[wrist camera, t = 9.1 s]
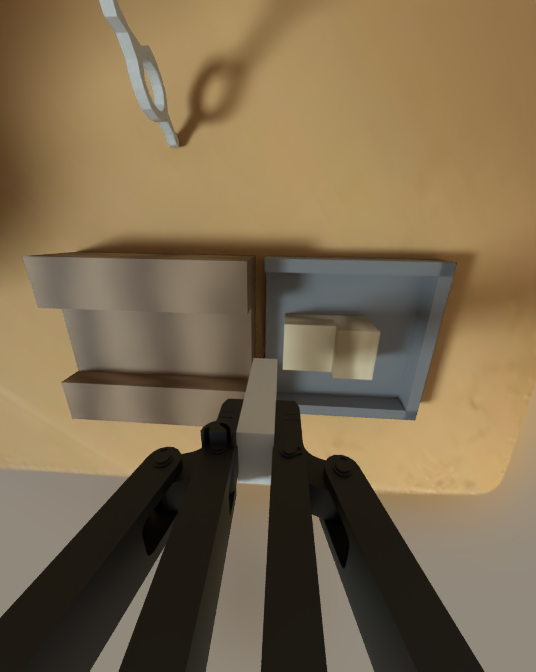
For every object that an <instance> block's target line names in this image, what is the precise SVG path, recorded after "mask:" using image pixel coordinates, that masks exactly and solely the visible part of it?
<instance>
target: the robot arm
mask: <svg viewBox="0 0 536 672" xmlns="http://www.w3.org/2000/svg"><path fill="white" fill-rule="evenodd" d="M277 360H278V359H265V358H253V363H252V367H251V371H250V376H249V380H248V384H247V388H246V393H245V397H244V399H227V400H226V401H225V402H224V403H223V404H222V406H221V409H220V412H219V415H218V418H217V420H216V421H213V422H210V423H208V424H207V425H205V426H204V427H203V428H202V430H201V440H202V448H201V449H199V450H197V451H194V452H190V453H185V454H181V453H180V451H179V450H178V449H176V448H174V447H164V448H160V449H158V450H156V451H154V452H153V453H151V454H150V455H149V456H148V457H147V458H146V459H145V460H144V461H143V463H142V464H141V465H140V466H139V467H138V468H137V469H136V470H135V471H134V472H133V473H132V475H131V476H130V477H129V478H128V479H127V480H126V481H125V482H124V483H123V484H122V485H121V487H120V488H119V489H118V490H117V491H116V492H115V493H114V494H113V495H112V496H111V497H110V499H109V500H108V501H107V502H106V503H105V504H104V505H103V506H102V507H101V509H100V510H99V511H98V512H97V513H96V514H95V515H94V516H93V517H92V518H91V520H89V522H88V523H87V524H86V525H85V526H84V527H83V528H82V529H81V530H80V531H79V532H78V534H77V535H76V536H75V537H74V538H73V539H72V540H71V541H70V542H69V543H68V545H67V546H66V547H65V548H64V549H63V550H62V551H61V552H60V553H59V554H58V556H56V558H55V559H54V560H53V561H52V562H51V563H50V564H49V565H48V566H47V567H46V569H45V570H44V571H43V572H42V573H41V574H40V575H39V576H38V577H37V579H35V580H34V582H33V583H32V584H31V585H30V586H29V587H28V588H27V589H26V590H25V591H24V593H23V594H22V595H21V596H20V597H19V598H18V599H17V600H16V601H15V602H14V604H13V605H12V606H11V607H10V608H9V609H8V610H7V611H6V612H5V613H4V614H3V616H2V617H1V618H0V672H90V670H91V668H92V667H93V665H94V663H95V661H96V660H97V658H98V657H99V655H100V653H101V652H102V650H103V648H104V646H105V645H106V643H107V642H108V640H109V638H110V636H111V635H112V633H113V632H114V630H115V628H116V627H117V625H118V623H119V622H120V620H121V618H122V617H123V615H124V613H125V612H126V610H127V608H128V607H129V605H130V603H131V602H132V600H133V598H134V597H135V595H136V593H137V592H138V590H139V588H140V586H141V585H142V583H143V582H144V580H145V578H146V576H147V575H148V573H149V572H150V570H151V568H152V567H153V565H154V563H155V561H156V560H157V558H158V557H159V555H160V553H161V552H162V550H163V548H164V547H165V548H164V552H163V554H162V556H161V559H160V562H159V565H158V567H157V570H156V573H155V575H154V578H153V580H152V583H151V586H150V589H149V592H148V594H147V597H146V599H145V602H144V605H143V607H142V610H141V613H140V615H139V618H138V621H137V623H136V626H135V629H134V631H133V634H132V637H131V640H130V642H129V645H128V648H127V650H126V653H125V656H124V658H123V661H122V664H121V666H120V669H119V672H206V666H207V661H208V655H209V649H210V643H211V638H212V632H213V626H214V620H215V615H216V609H217V603H218V598H219V592H220V586H221V580H222V575H223V569H224V563H225V557H226V552H227V546H228V540H229V535H230V529H231V523H232V517H233V511H234V505H235V500H236V484H237V478H238V483H254V484H271V488H270V509H269V529H268V546H267V565H266V584H265V605H264V623H263V643H262V661H261V663H262V664H261V672H327V665H326V655H325V645H324V635H323V625H322V614H321V604H320V595H319V584H318V574H317V564H316V554H315V543H314V534H313V523H312V514H313V515H315V516H317V517H319V520H320V523H321V525H322V528H323V531H324V534H325V536H326V539H327V542H328V545H329V547H330V550H331V553H332V556H333V559H334V561H335V564H336V567H337V569H338V572H339V575H340V578H341V581H342V583H343V586H344V589H345V591H346V595H347V597H348V600H349V603H350V606H351V608H352V611H353V614H354V617H355V619H356V622H357V625H358V627H359V630H360V633H361V636H362V639H363V642H364V644H365V647H366V650H367V653H368V655H369V658H370V661H371V664H372V666H373V669H374V672H484V670H483V669H482V667H481V665H480V664H479V662H478V660H477V659H476V657H475V655H474V654H473V652H472V651H471V649H470V647H469V646H468V644H467V642H466V641H465V639H464V637H463V636H462V634H461V633H460V631H459V629H458V628H457V626H456V624H455V623H454V621H453V620H452V618H451V616H450V615H449V613H448V611H447V610H446V608H445V606H444V605H443V603H442V602H441V600H440V598H439V597H438V595H437V593H436V592H435V590H434V589H433V587H432V585H431V583H430V582H429V581H428V579H427V577H426V575H425V574H424V572H423V570H422V569H421V567H420V565H419V564H418V562H417V561H416V559H415V557H414V556H413V554H412V552H411V551H410V549H409V547H408V546H407V544H406V543H405V541H404V539H403V538H402V536H401V534H400V533H399V531H398V529H397V528H396V526H395V525H394V523H393V522H392V520H391V518H390V516H389V515H388V513H387V511H386V510H385V508H384V507H383V505H382V503H381V502H380V500H379V498H378V497H377V495H376V493H375V492H374V490H373V489H372V487H371V485H370V484H369V482H368V480H367V479H366V477H365V475H364V474H363V472H362V471H361V469H360V467H359V466H358V465H357V463H356V462H355V461H354V460H352V459H350V458H349V457H346V456H343V455H333V456H330V457H329V458H328V459H327V460H323V459H319V458H317V457H315V456H313V455H311V454H310V453H308V452H307V450H306V449H305V448H304V445H303V440H302V429H301V419H300V408H299V406H298V404H297V403H296V402H295V401H288V400H276V392H277ZM165 545H166V546H165Z"/></svg>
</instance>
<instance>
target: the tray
mask: <svg viewBox="0 0 536 672" xmlns="http://www.w3.org/2000/svg"><path fill="white" fill-rule="evenodd" d="M456 264H457V263H456V262H450V261H444V260H432V259H384V258H336V257H288V256H267V257H266V258H265V272H266V341H265V359H278V360H277V392H276V400H288V401H295V402H296V403H297V404H298V406H299V408H300V414H311V415H329V416H347V417H365V418H382V419H400V420H415V419H416V415H417V412H418V408H419V404H420V400H421V397H422V393H423V389H424V385H425V381H426V378H427V374H428V370H429V366H430V363H431V359H432V355H433V351H434V348H435V344H436V340H437V336H438V332H439V329H440V325H441V321H442V317H443V314H444V310H445V306H446V302H447V298H448V295H449V291H450V287H451V283H452V280H453V276H454V272H455V268H456ZM285 314H312V315H342V316H366V317H367V318H368V319H369V321H370V322H371V323H372V324H373V325H374V326H375V327H376V328H377V329H378V330H379V331H380V332H381V333H380V338H379V344H378V349H377V355H376V360H375V366H374V371H373V377H372V380H362V379H342V378H333V376H332V373H331V372H320V371H299V370H283V349H284V324H285Z"/></svg>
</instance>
